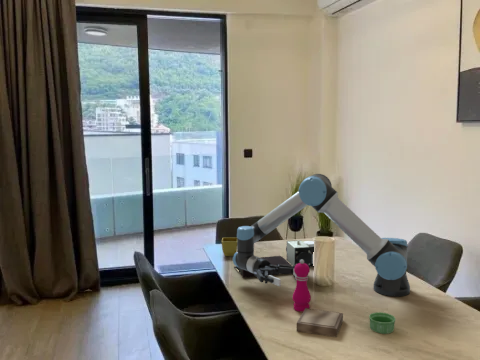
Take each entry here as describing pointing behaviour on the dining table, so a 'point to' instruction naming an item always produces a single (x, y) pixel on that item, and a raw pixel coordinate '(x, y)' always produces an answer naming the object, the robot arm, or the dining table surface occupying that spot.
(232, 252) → the flower pot
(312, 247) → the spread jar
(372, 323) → the ramekin
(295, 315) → the dining table surface
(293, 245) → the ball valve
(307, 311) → the plinth
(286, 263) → the diary
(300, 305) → the pepper mill
